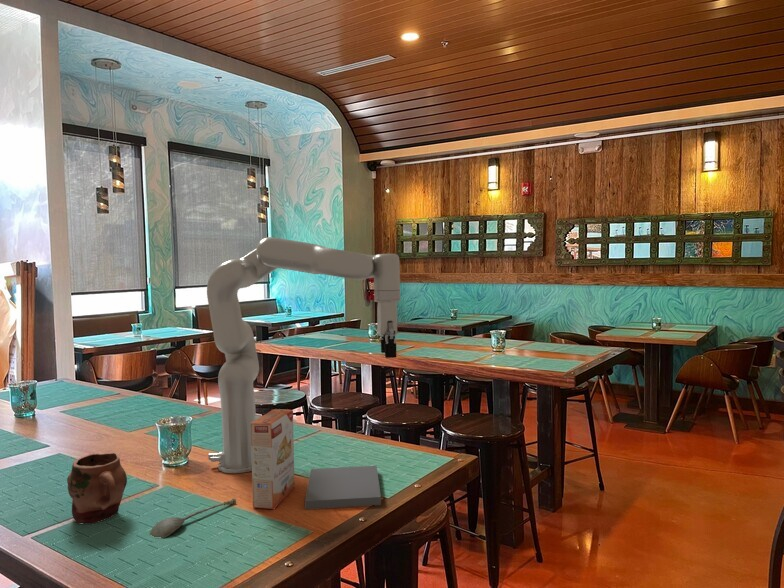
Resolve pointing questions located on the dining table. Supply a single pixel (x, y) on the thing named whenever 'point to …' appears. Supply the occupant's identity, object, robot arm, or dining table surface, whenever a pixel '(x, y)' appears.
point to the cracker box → (272, 458)
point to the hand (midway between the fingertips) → (388, 355)
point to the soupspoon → (178, 522)
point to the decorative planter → (96, 487)
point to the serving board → (343, 487)
